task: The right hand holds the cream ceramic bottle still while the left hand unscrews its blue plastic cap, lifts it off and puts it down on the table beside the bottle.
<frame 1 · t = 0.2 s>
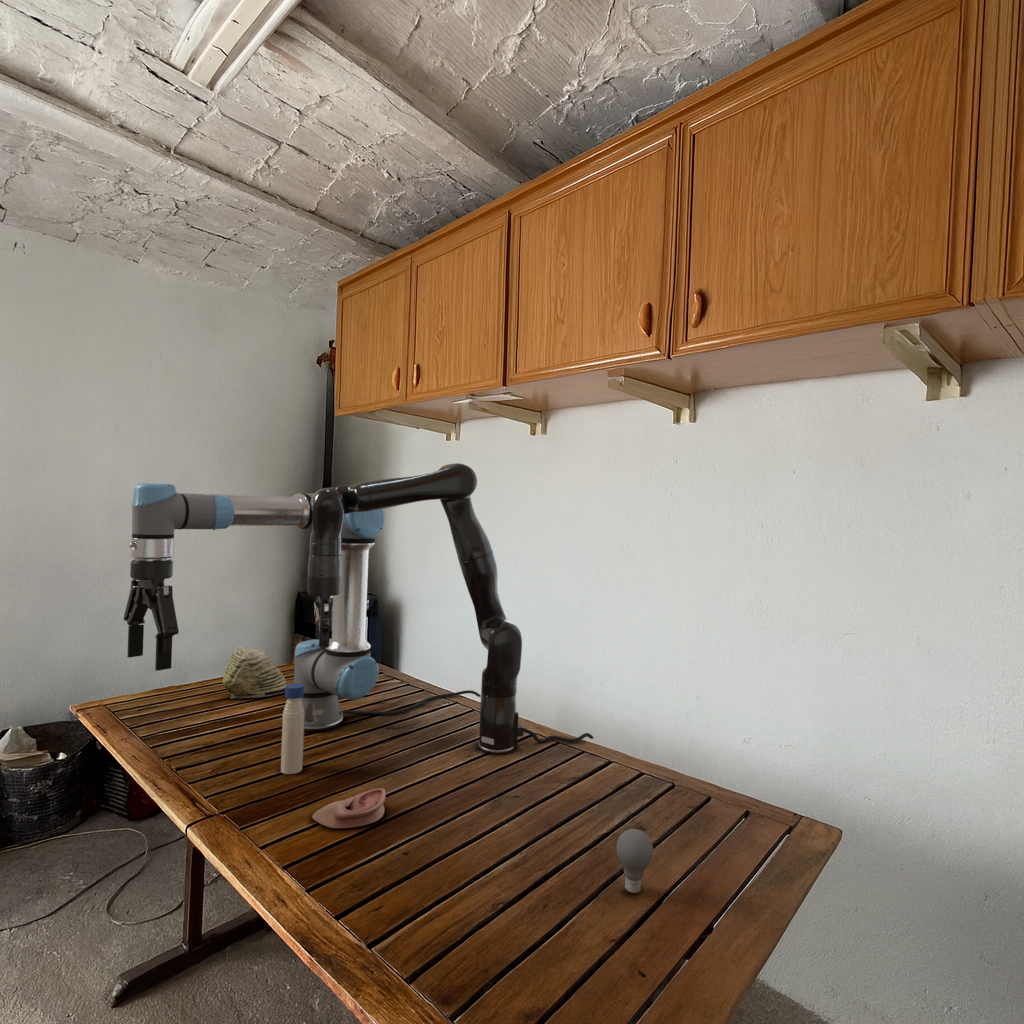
left hand: (148, 662, 129), 28 cm above the table, tool pointing down, fingers open, 13 cm apart
right hand: (322, 643, 147), 29 cm above the table, tool pointing down, fingers open, 8 cm apart
cap: (294, 687, 146), point 19 cm above the table, screwed on, not yet turned
bottle: (291, 769, 146), on the table
light bulb: (632, 891, 106), on the table
anatomical model: (349, 815, 126), on the table
fossil: (254, 694, 198), on the table
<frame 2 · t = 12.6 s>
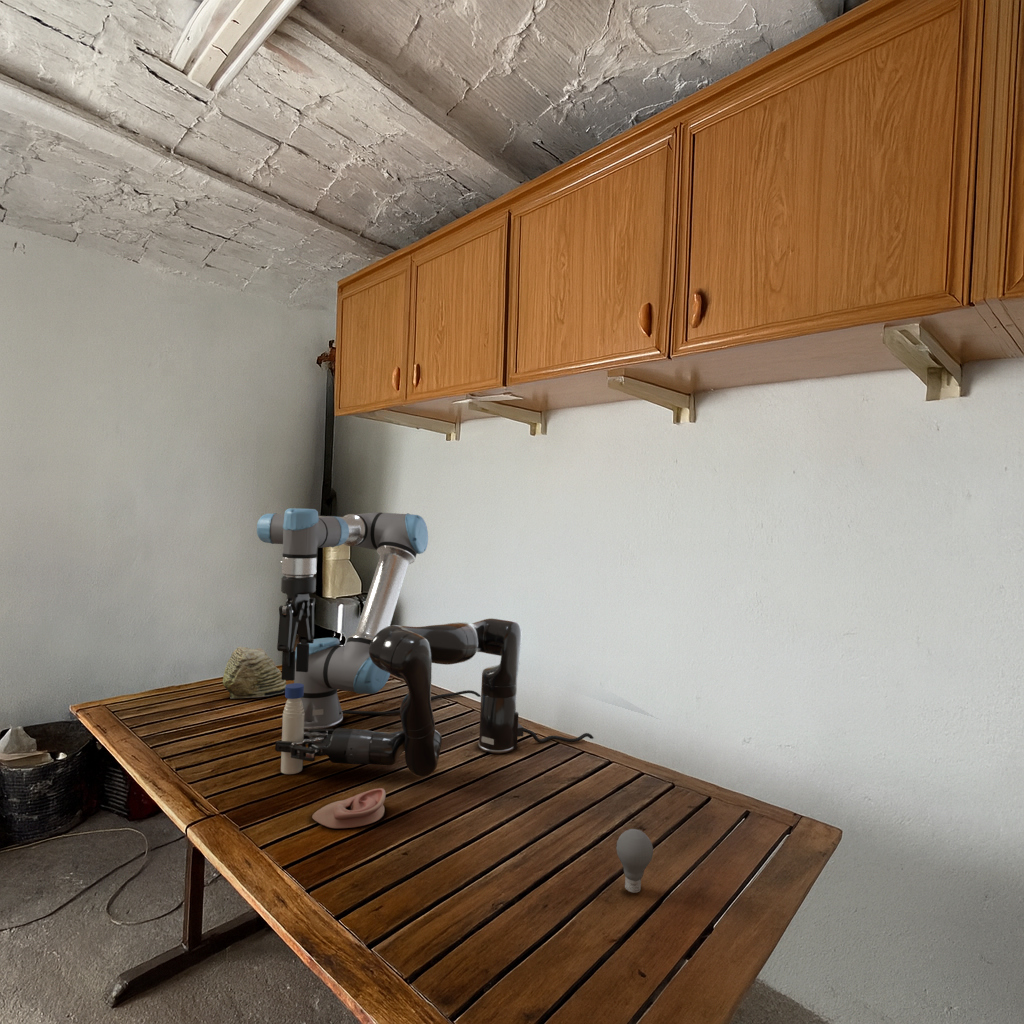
left hand: (295, 675, 146), 22 cm above the table, tool pointing down, fingers open, 6 cm apart
right hand: (281, 741, 146), 6 cm above the table, tool horizontal, fingers closed on bottle, 5 cm apart
bottle: (291, 769, 146), on the table, touching right hand
everything else where it was.
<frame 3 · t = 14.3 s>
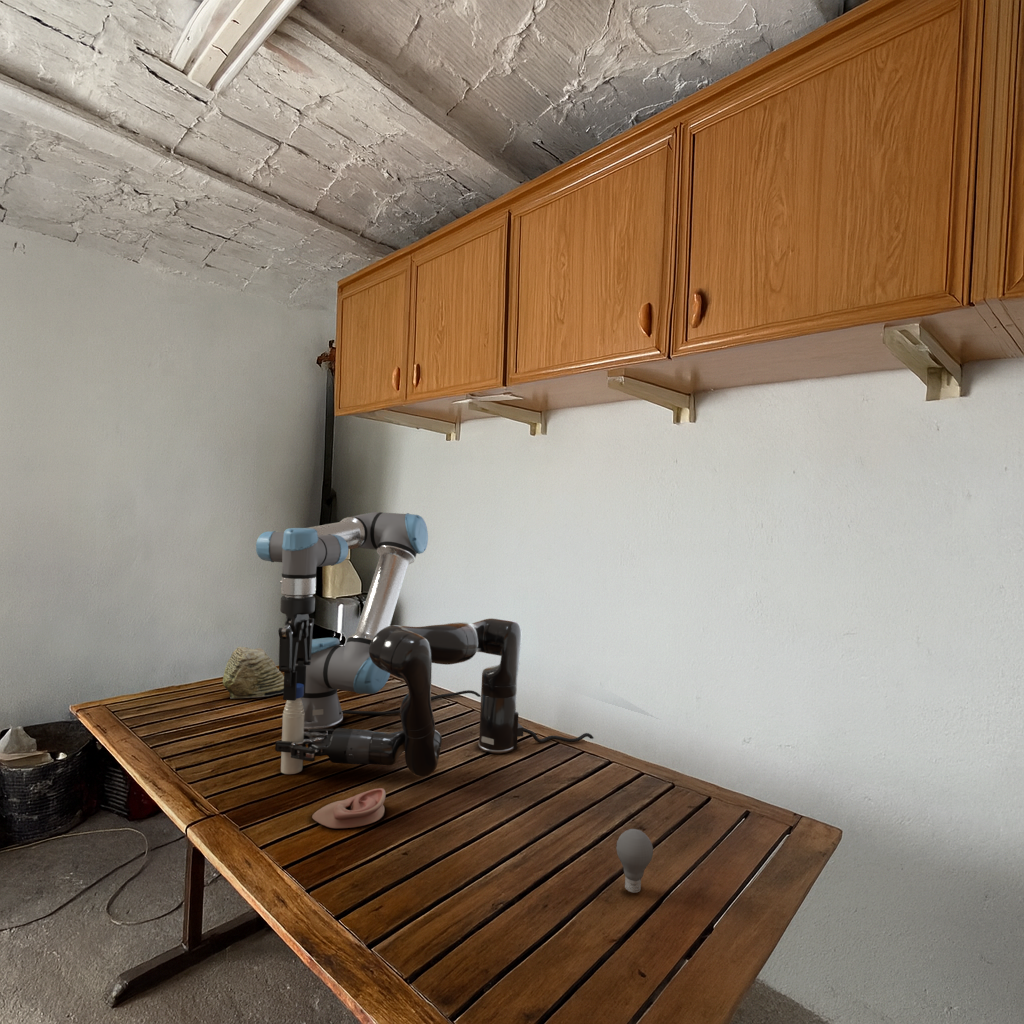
left hand: (294, 696, 146), 17 cm above the table, tool pointing down, fingers closed on cap, 4 cm apart
right hand: (281, 741, 146), 6 cm above the table, tool horizontal, fingers closed on bottle, 5 cm apart
cap: (294, 687, 146), point 19 cm above the table, screwed on, not yet turned, touching left hand
bottle: (291, 769, 146), on the table, touching right hand
everything else where it was.
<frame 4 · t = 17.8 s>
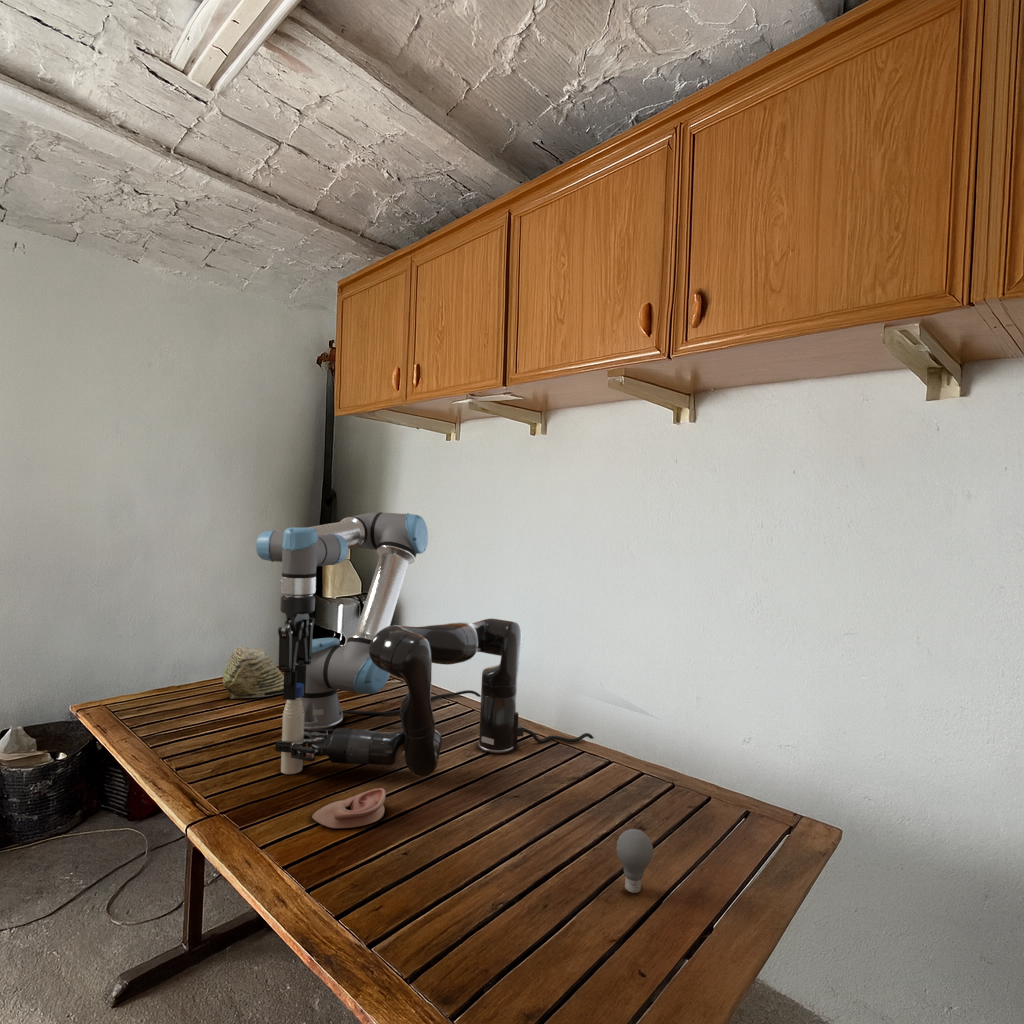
left hand: (294, 695, 146), 17 cm above the table, tool pointing down, fingers closed on cap, 4 cm apart
right hand: (281, 741, 146), 6 cm above the table, tool horizontal, fingers closed on bottle, 5 cm apart
cap: (294, 686, 146), point 19 cm above the table, turned 121° so far, risen 0.1 cm, still on its thread, touching left hand
bottle: (291, 769, 146), on the table, touching right hand
everything else where it was.
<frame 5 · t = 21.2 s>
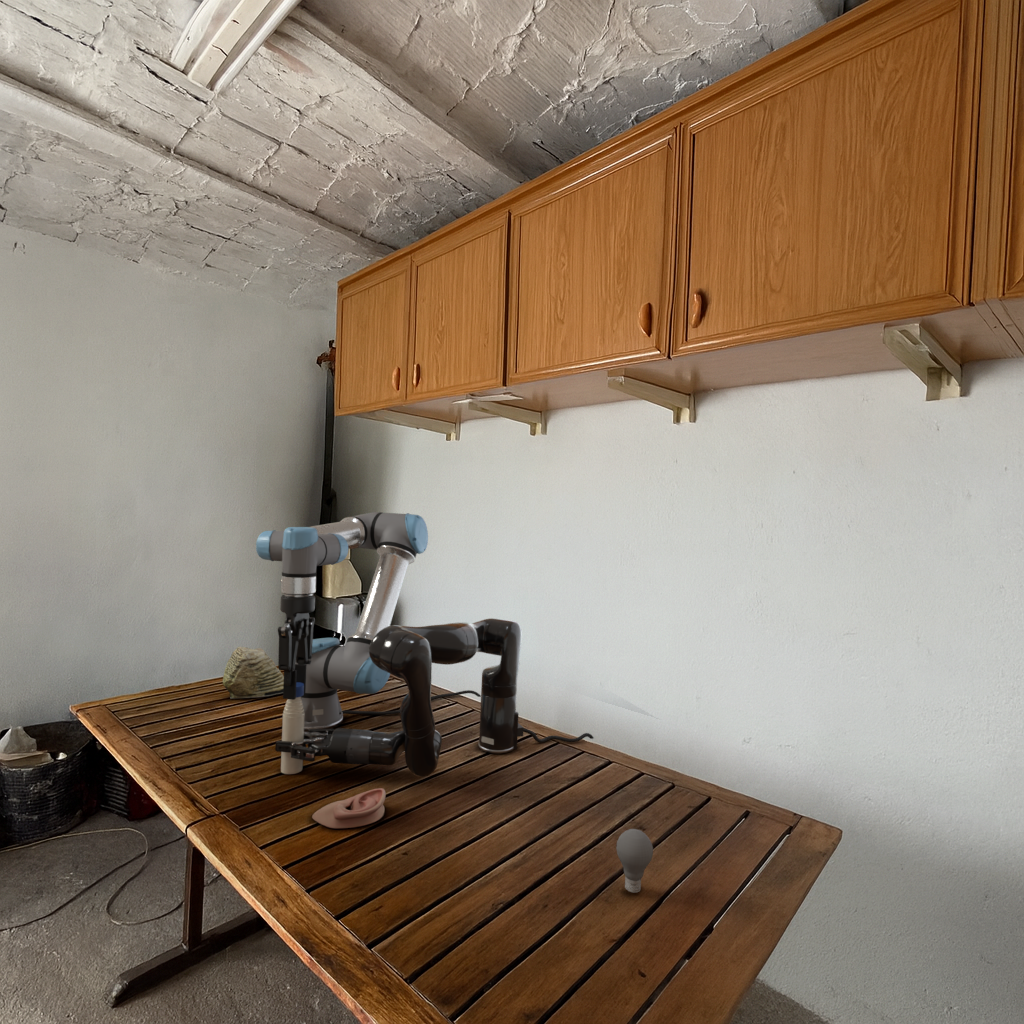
left hand: (294, 695, 146), 17 cm above the table, tool pointing down, fingers closed on cap, 4 cm apart
right hand: (281, 741, 146), 6 cm above the table, tool horizontal, fingers closed on bottle, 5 cm apart
cap: (294, 686, 146), point 19 cm above the table, turned 242° so far, risen 0.2 cm, still on its thread, touching left hand
bottle: (291, 769, 146), on the table, touching right hand
everything else where it was.
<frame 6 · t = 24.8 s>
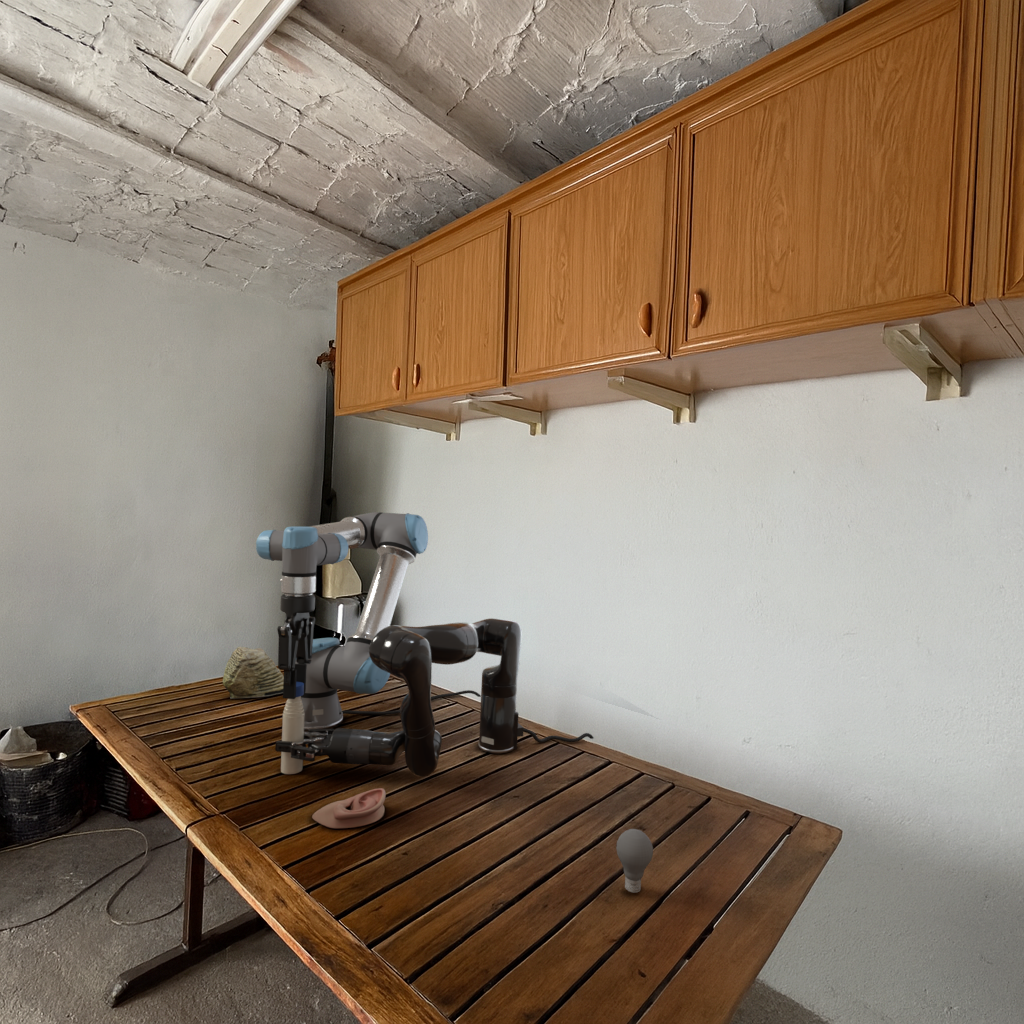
left hand: (294, 694, 146), 17 cm above the table, tool pointing down, fingers closed on cap, 4 cm apart
right hand: (281, 741, 146), 6 cm above the table, tool horizontal, fingers closed on bottle, 5 cm apart
cap: (294, 685, 146), point 20 cm above the table, turned 363° so far, risen 0.3 cm, still on its thread, touching left hand
bottle: (291, 769, 146), on the table, touching right hand
everything else where it was.
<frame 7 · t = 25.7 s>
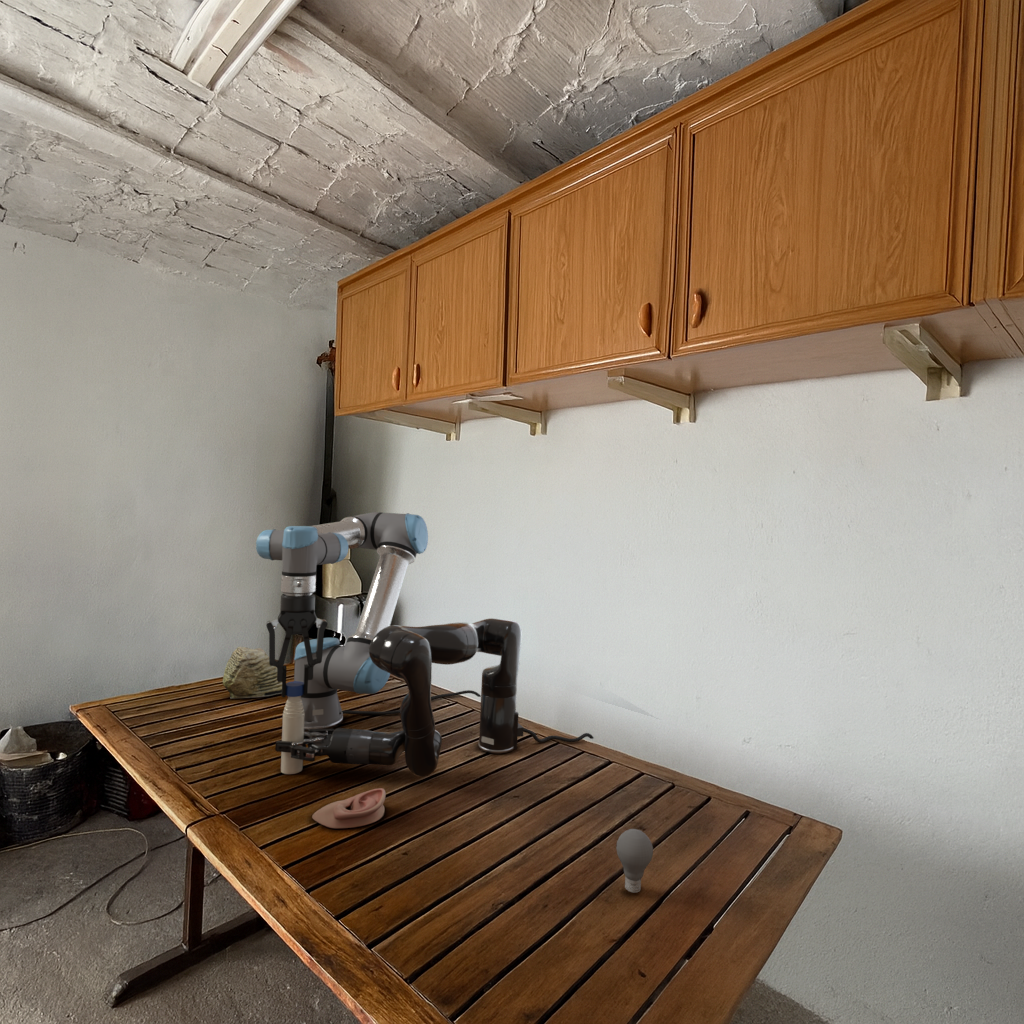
left hand: (294, 694, 146), 18 cm above the table, tool pointing down, fingers closed on cap, 4 cm apart
right hand: (281, 741, 146), 6 cm above the table, tool horizontal, fingers closed on bottle, 5 cm apart
cap: (294, 685, 146), point 20 cm above the table, off its thread, touching left hand
bottle: (291, 769, 146), on the table, touching right hand
everything else where it was.
when the left hand's fingers open (1 cm above the table, at t = 31.8 s): cap drops 1 cm, point 2 cm above the table.
when the right hand's fingers open (6 cm above the table, at t = 33.1 s): bottle stays where it is, on the table.
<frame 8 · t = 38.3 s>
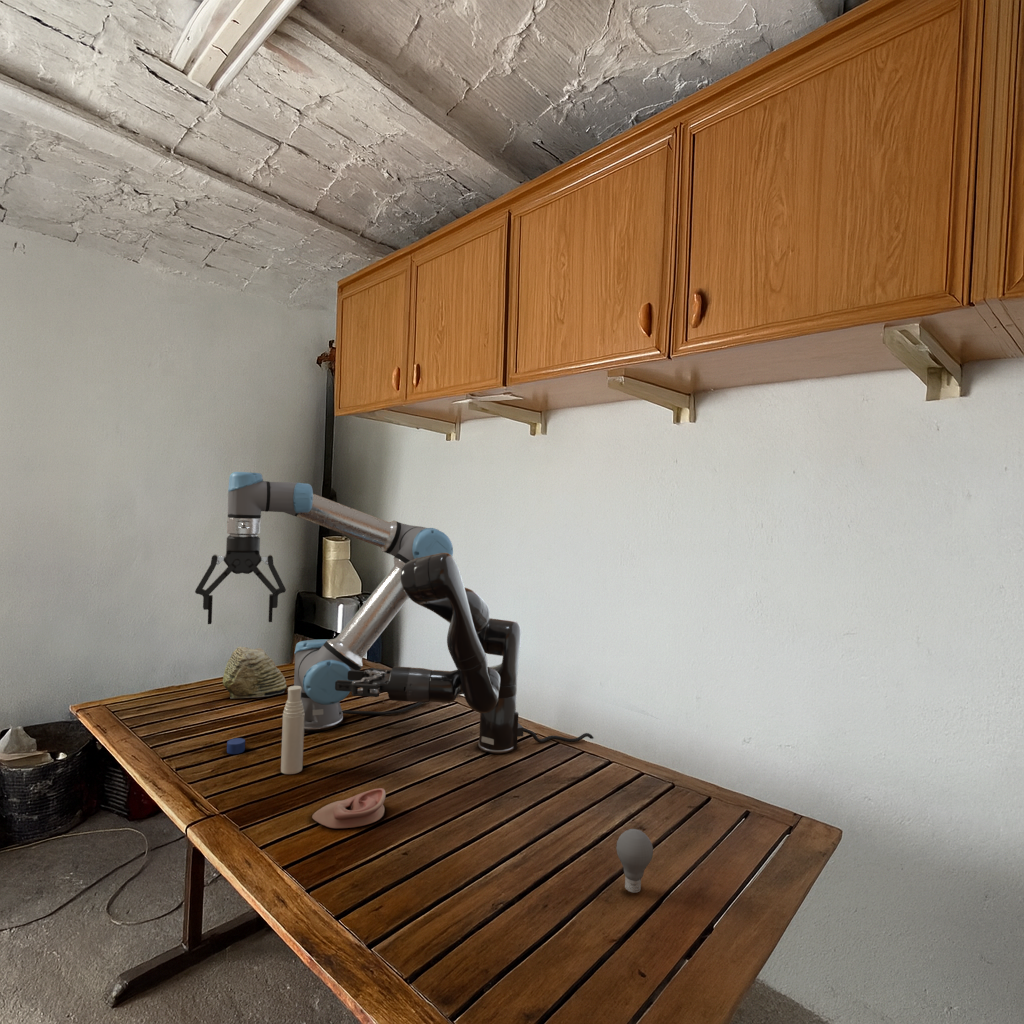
left hand: (240, 622, 155), 32 cm above the table, tool pointing down, fingers open, 13 cm apart
right hand: (342, 679, 145), 22 cm above the table, tool horizontal, fingers open, 8 cm apart
cap: (236, 742, 155), point 2 cm above the table, off its thread
bottle: (291, 769, 146), on the table
everything else where it was.
at the end: cap came off its thread; cap point 2.1 cm above the table; the left hand is holding nothing; the right hand is holding nothing; bottle tilted 0°; bottle moved 0.0 cm from its start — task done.
